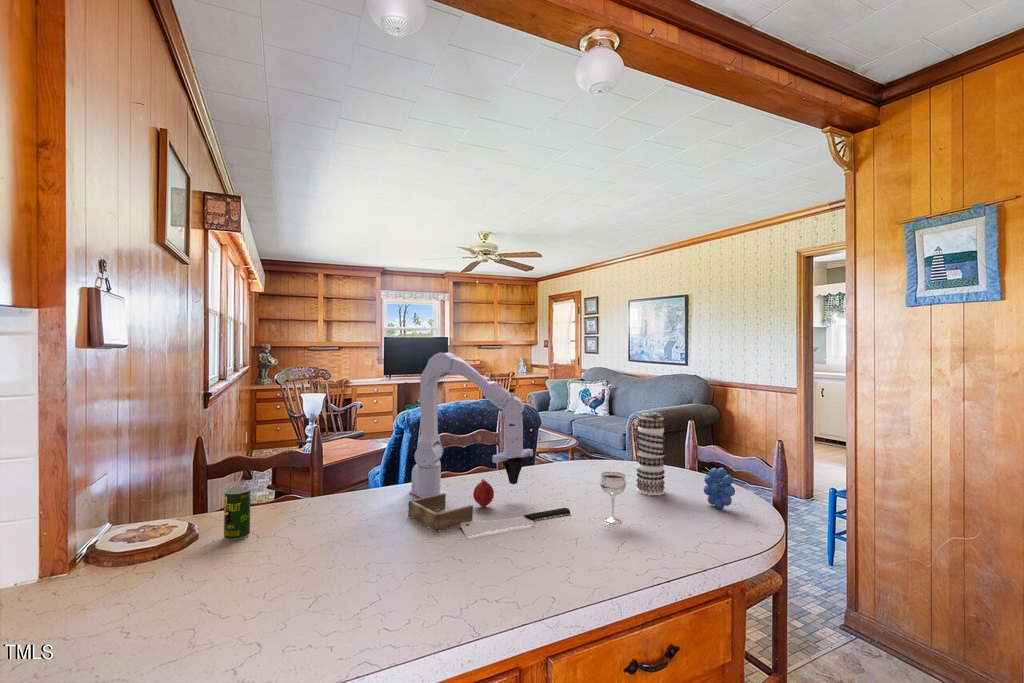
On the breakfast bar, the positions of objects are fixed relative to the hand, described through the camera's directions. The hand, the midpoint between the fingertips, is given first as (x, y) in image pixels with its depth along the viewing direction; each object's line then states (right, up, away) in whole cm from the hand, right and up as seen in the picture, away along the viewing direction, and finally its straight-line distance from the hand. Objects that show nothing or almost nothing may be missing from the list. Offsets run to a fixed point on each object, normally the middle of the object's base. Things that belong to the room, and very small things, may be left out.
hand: (513, 483), depth 142 cm
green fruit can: (-65, -4, -30) cm, 72 cm away
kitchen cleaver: (+2, -5, -20) cm, 21 cm away
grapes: (+60, -5, -7) cm, 60 cm away
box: (-19, -4, -17) cm, 26 cm away
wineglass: (+26, -5, -17) cm, 32 cm away
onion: (-8, -5, -7) cm, 12 cm away
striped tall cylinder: (+44, -6, +9) cm, 45 cm away
